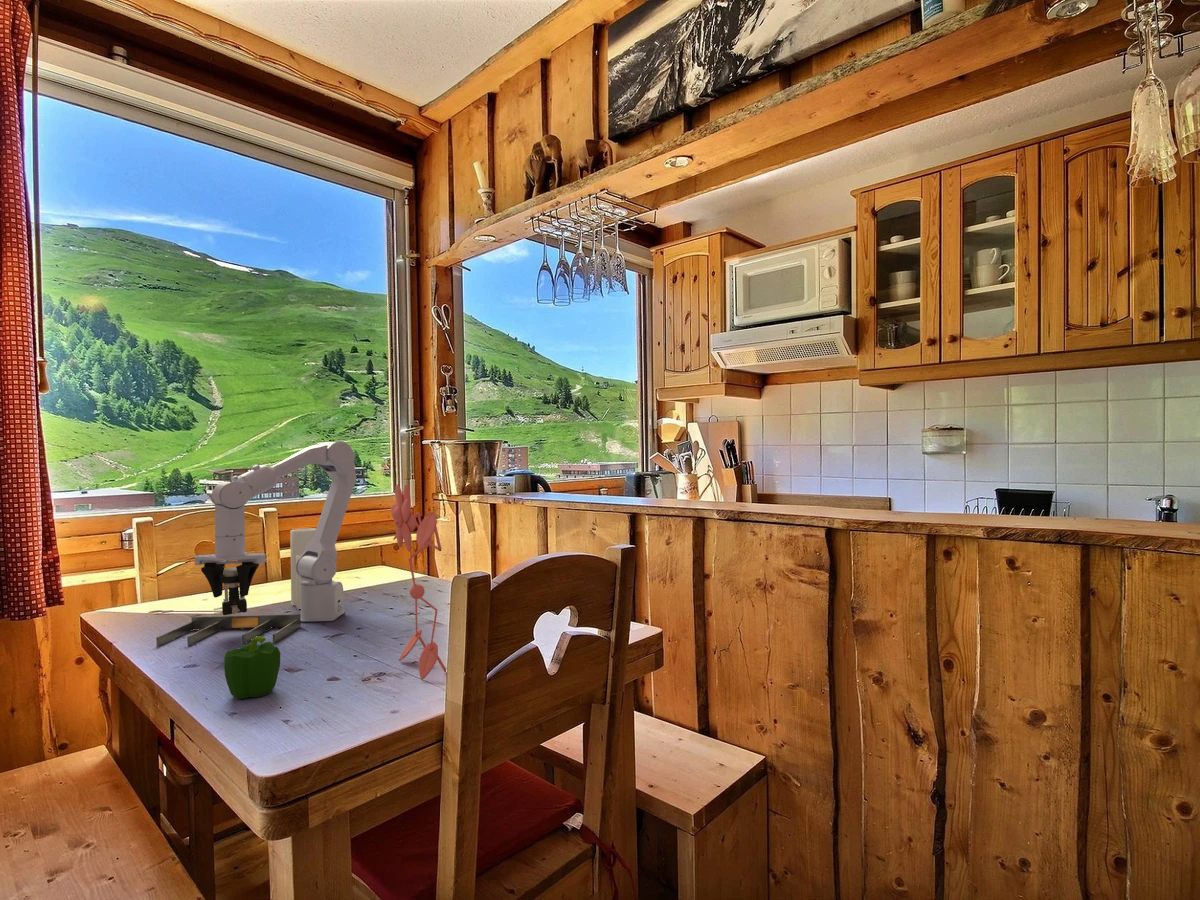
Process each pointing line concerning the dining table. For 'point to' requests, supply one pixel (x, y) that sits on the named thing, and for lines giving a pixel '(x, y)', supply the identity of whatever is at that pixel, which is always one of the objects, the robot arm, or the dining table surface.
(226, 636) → the dining table surface
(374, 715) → the dining table surface
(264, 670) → the bell pepper
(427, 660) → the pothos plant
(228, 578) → the push button
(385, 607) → the dining table surface
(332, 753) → the dining table surface
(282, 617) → the rack
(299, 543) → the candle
